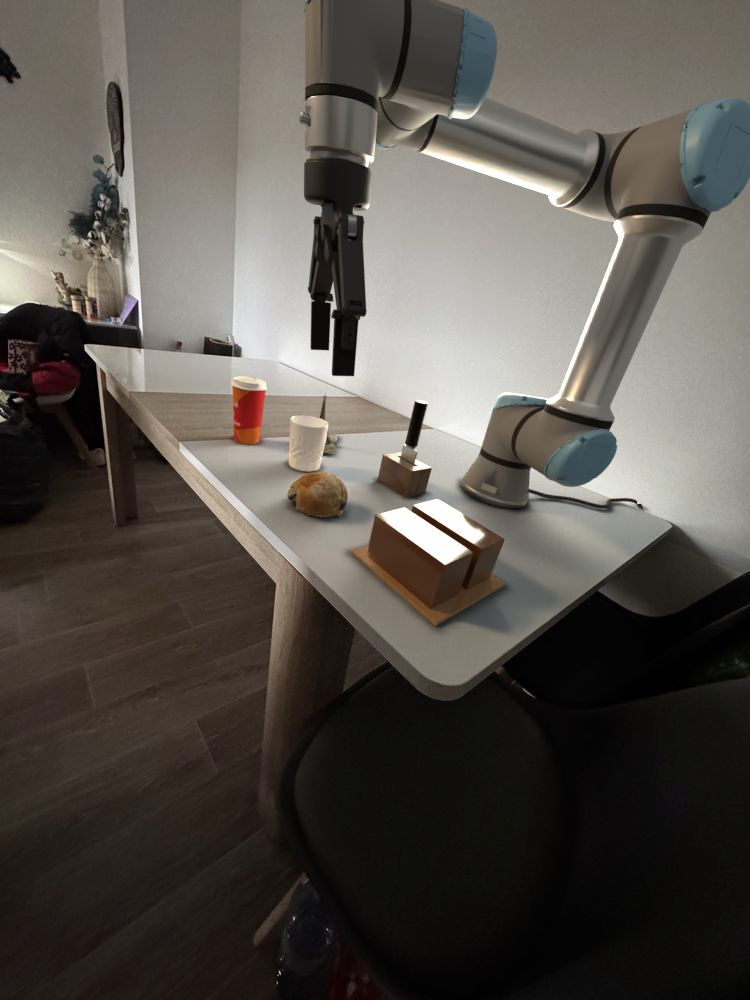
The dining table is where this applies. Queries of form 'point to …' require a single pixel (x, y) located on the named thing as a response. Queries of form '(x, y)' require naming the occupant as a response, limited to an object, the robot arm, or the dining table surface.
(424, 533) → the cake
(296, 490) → the bread roll
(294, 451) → the white cup
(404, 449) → the knife
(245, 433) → the paper cup
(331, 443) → the eiffel tower figurine
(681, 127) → the robot arm
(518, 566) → the dining table surface
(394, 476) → the knife block
